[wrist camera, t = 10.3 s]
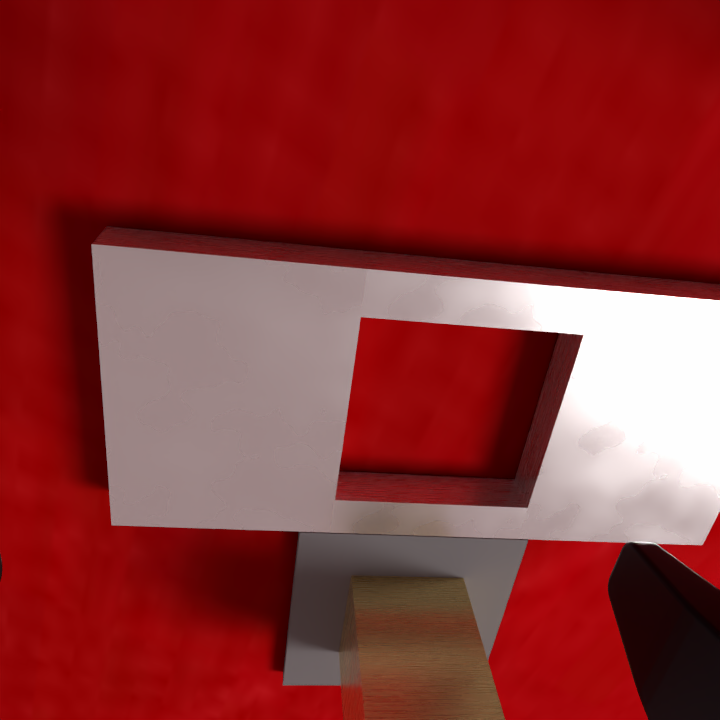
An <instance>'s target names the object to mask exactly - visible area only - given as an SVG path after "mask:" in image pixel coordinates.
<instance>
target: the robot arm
mask: <svg viewBox="0 0 720 720" xmlns="http://www.w3.org/2000/svg"><path fill="white" fill-rule="evenodd" d="M1 576H2V560H1V555H0V581H1ZM608 593H609V598H610V601H611V605H612V608H613V611H614V615H615V618H616V621H617V625H618V628H619V632H620V635H621V638H622V642H623V645H624V648H625V652H626V655H627V659H628V662H629V665H630V669H631V672H632V675H633V679H634V682H635V685H636V688H637V691H638V694H639V696H640V699H641V702H642V704H643V707H644V710H645V712H646V715H647V717H648V719H649V720H720V590H719V589H718V588H716V587H715V586H714V585H712V584H711V583H709V582H708V581H707V580H705V579H704V578H703V577H701V576H700V575H698V574H697V573H696V572H694V571H693V570H692V569H690V568H689V567H687V566H686V565H685V564H683V563H682V562H681V561H679V560H678V559H676V558H675V557H674V556H672V555H671V554H670V553H668V552H667V551H665V550H664V549H663V548H661V547H660V546H658V545H657V544H655V543H651V542H628V543H626V544H625V545H624V546H623V548H622V550H621V552H620V555H619V557H618V559H617V562H616V564H615V566H614V568H613V571H612V573H611V575H610V578H609V582H608Z"/></svg>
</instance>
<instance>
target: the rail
mask: <svg viewBox="0 0 720 720" xmlns="http://www.w3.org/2000/svg"><path fill="white" fill-rule="evenodd" d="M91 246H92V260H93V274H94V288H95V301H96V315H97V329H98V343H99V357H100V371H101V384H102V398H103V412H104V426H105V440H106V454H107V467H108V481H109V495H110V509H111V523H112V525H121V526H151V527H180V528H210V529H240V530H269V531H299V532H329V533H358V534H388V535H417V536H447V537H477V538H506V539H536V540H566V541H595V542H625V543H628V542H651V543H655V544H684V545H703V543H704V541H705V539H706V537H707V535H708V533H709V531H710V529H711V527H712V525H713V523H714V521H715V519H716V517H717V515H718V513H719V511H720V284H713V283H702V282H692V281H681V280H671V279H660V278H649V277H639V276H628V275H618V274H607V273H596V272H586V271H575V270H565V269H554V268H544V267H533V266H522V265H512V264H501V263H491V262H480V261H470V260H459V259H448V258H438V257H427V256H417V255H406V254H396V253H385V252H374V251H364V250H353V249H343V248H332V247H321V246H311V245H300V244H290V243H279V242H269V241H258V240H247V239H237V238H226V237H216V236H205V235H195V234H184V233H173V232H163V231H152V230H142V229H131V228H120V227H110V226H106V228H105V229H104V230H103V231H102V232H101V233H100V235H99V236H98V237H97V238H96V239H95V240H94V242H93V243H92V244H91ZM361 317H368V318H381V319H393V320H406V321H418V322H431V323H443V324H455V325H468V326H480V327H493V328H505V329H518V330H530V331H543V332H555V333H559V335H558V338H557V342H556V345H555V348H554V352H553V355H552V358H551V361H550V365H549V368H548V371H547V375H546V378H545V381H544V384H543V388H542V391H541V394H540V398H539V401H538V404H537V407H536V411H535V414H534V417H533V421H532V424H531V427H530V430H529V434H528V437H527V440H526V444H525V447H524V450H523V453H522V457H521V460H520V463H519V467H518V470H517V473H516V476H515V479H494V478H473V477H451V476H430V475H409V474H387V473H366V472H345V471H339V468H340V461H341V453H342V446H343V439H344V432H345V425H346V418H347V411H348V404H349V397H350V389H351V382H352V375H353V368H354V361H355V354H356V347H357V340H358V332H359V325H360V318H361Z"/></svg>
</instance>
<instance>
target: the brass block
mask: <svg viewBox="0 0 720 720" xmlns="http://www.w3.org/2000/svg"><path fill="white" fill-rule="evenodd" d="M339 664H340V679H341V694H342V709H343V720H505V718H504V715H503V711H502V708H501V705H500V701H499V698H498V694H497V691H496V687H495V684H494V681H493V677H492V674H491V670H490V667H489V663H488V660H487V657H486V653H485V650H484V646H483V643H482V639H481V636H480V633H479V629H478V626H477V622H476V619H475V615H474V612H473V609H472V605H471V602H470V598H469V595H468V592H467V588H466V585H465V581H464V578H443V577H398V576H353V575H351V580H350V586H349V593H348V599H347V605H346V611H345V617H344V623H343V629H342V635H341V642H340V648H339Z"/></svg>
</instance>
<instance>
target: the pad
mask: <svg viewBox="0 0 720 720" xmlns="http://www.w3.org/2000/svg"><path fill="white" fill-rule="evenodd" d="M527 542H528V539H506V538H477V537H447V536H417V535H388V534H358V533H329V532H299V534H298V543H297V552H296V561H295V570H294V579H293V588H292V597H291V607H290V616H289V625H288V634H287V643H286V652H285V661H284V671H283V685H341V679H340V664H339V648H340V642H341V635H342V629H343V623H344V617H345V611H346V605H347V599H348V593H349V586H350V580H351V575H353V576H398V577H443V578H464V581H465V585H466V588H467V592H468V595H469V598H470V602H471V605H472V609H473V612H474V615H475V619H476V622H477V626H478V629H479V633H480V636H481V639H482V643H483V646H484V650H485V653H486V657H487V660H488V658H489V655H490V652H491V649H492V646H493V643H494V640H495V637H496V634H497V631H498V628H499V625H500V622H501V619H502V616H503V614H504V611H505V608H506V605H507V602H508V599H509V596H510V593H511V590H512V587H513V584H514V581H515V578H516V575H517V572H518V569H519V566H520V563H521V560H522V557H523V554H524V551H525V548H526V545H527Z"/></svg>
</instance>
